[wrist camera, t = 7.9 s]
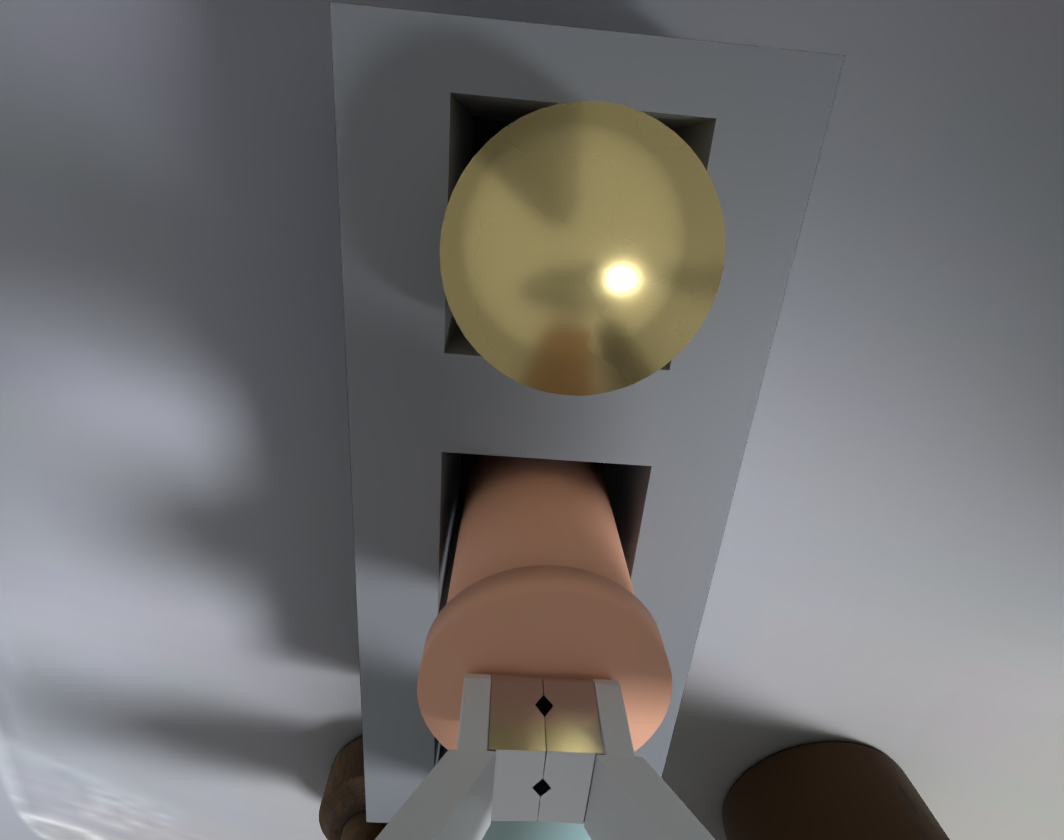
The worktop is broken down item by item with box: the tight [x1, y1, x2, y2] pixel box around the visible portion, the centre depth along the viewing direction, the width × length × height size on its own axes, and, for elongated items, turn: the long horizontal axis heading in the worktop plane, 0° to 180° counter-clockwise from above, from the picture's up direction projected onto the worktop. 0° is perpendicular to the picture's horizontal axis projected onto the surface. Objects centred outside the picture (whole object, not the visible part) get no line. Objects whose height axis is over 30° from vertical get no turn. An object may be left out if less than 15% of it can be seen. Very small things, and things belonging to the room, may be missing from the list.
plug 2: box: [417, 455, 672, 752], centre depth 15 cm, size 5×5×8 cm
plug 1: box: [440, 101, 725, 396], centre depth 14 cm, size 5×5×8 cm
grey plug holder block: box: [330, 2, 845, 823], centre depth 19 cm, size 10×24×6 cm, turn 175°
